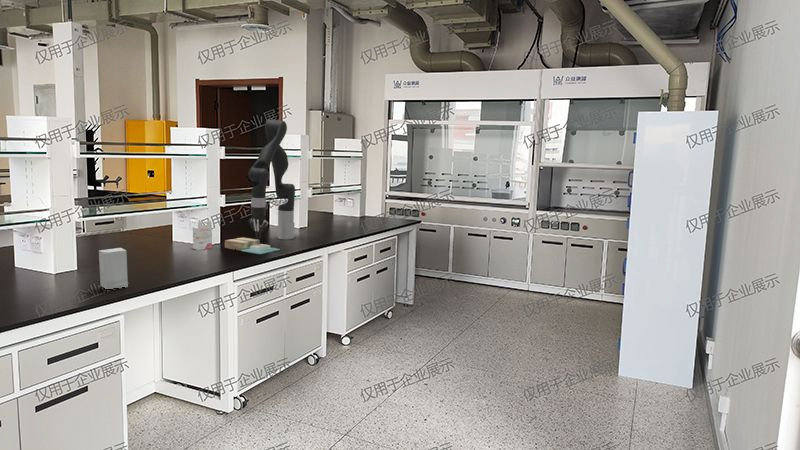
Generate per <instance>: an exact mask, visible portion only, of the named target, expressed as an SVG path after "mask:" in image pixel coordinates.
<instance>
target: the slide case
mask: <svg viewBox="0 0 800 450" xmlns="http://www.w3.org/2000/svg"><path fill="white" fill-rule="evenodd" d="M270 247H271V245H270V244H266V243H265V244H263V243H260V244H258V245H253V246H250V250H254V251H263V250H267V249H270Z"/></svg>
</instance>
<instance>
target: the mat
mask: <svg viewBox="0 0 800 450" xmlns="http://www.w3.org/2000/svg"><path fill="white" fill-rule="evenodd" d="M240 251H241V252H245V253H249V254H256V255H263V254H268V253H273V252H276V251H281V248H276V247H271V246H270V249H267V250H263V251H254V250H250V248H249V249H244V250H240Z"/></svg>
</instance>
